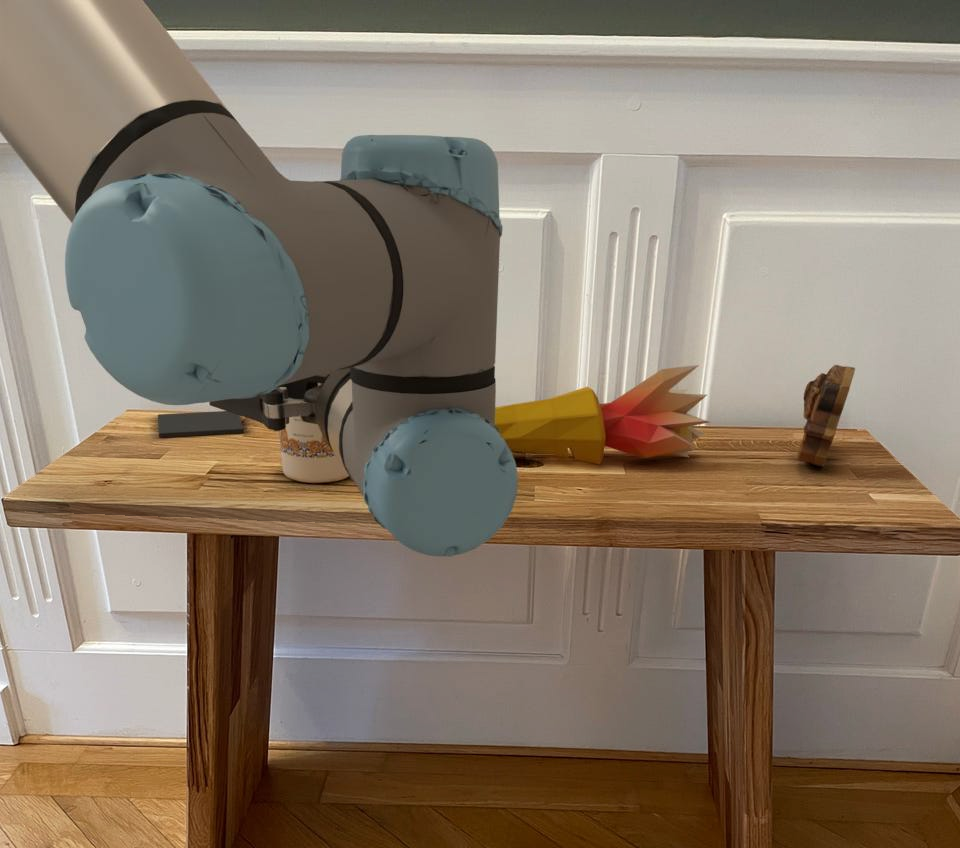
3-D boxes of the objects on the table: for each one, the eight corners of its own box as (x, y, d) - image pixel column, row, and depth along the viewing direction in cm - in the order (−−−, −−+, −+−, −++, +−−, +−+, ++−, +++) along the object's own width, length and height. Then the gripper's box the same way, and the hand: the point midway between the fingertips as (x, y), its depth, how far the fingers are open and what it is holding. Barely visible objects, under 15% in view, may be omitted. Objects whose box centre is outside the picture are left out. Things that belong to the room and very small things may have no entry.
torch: (474, 488, 97) (707, 460, 97) (474, 473, 89) (727, 442, 89) (465, 412, 97) (697, 383, 97) (464, 390, 89) (716, 359, 89)
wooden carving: (792, 441, 103) (808, 350, 99) (834, 445, 102) (853, 353, 98) (790, 481, 89) (809, 377, 85) (839, 486, 88) (861, 381, 84)
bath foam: (270, 481, 86) (250, 251, 77) (299, 461, 92) (284, 246, 83) (340, 487, 84) (328, 254, 75) (365, 467, 90) (356, 249, 81)
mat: (159, 437, 99) (158, 433, 98) (158, 418, 106) (157, 414, 106) (244, 432, 101) (243, 428, 101) (237, 414, 109) (236, 410, 109)
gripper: (569, 355, 59) (471, 312, 77) (171, 370, 52) (164, 319, 70) (563, 467, 63) (470, 401, 81) (187, 495, 56) (177, 416, 74)
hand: (328, 363), depth 76 cm, fingers open, 13 cm apart
